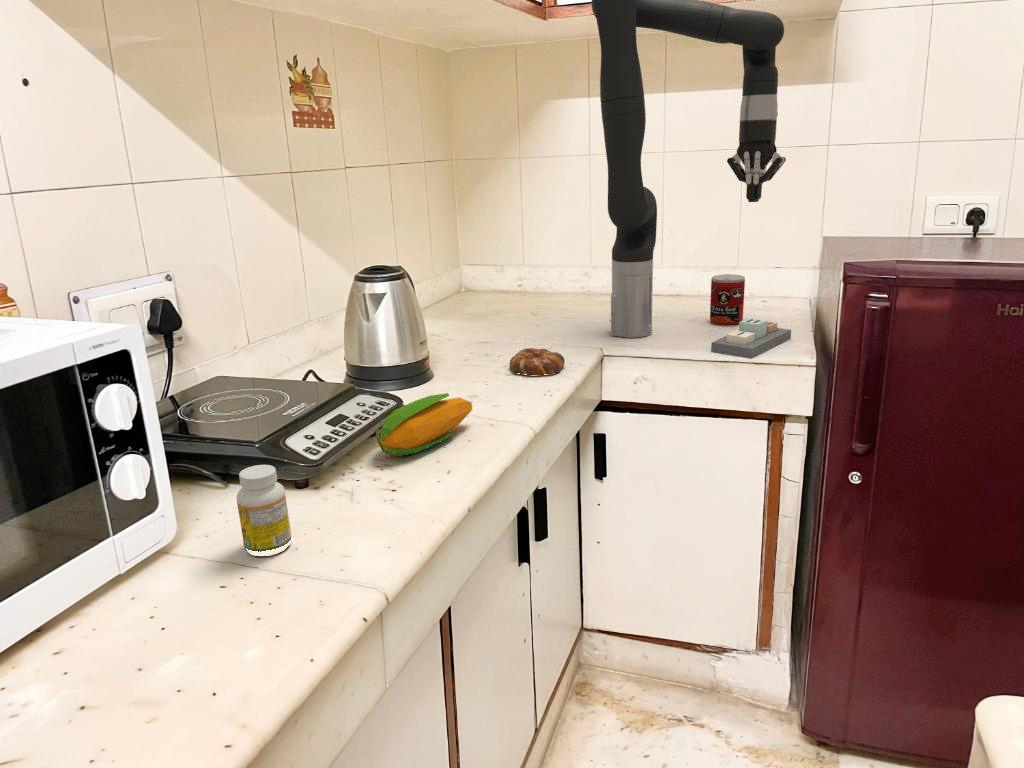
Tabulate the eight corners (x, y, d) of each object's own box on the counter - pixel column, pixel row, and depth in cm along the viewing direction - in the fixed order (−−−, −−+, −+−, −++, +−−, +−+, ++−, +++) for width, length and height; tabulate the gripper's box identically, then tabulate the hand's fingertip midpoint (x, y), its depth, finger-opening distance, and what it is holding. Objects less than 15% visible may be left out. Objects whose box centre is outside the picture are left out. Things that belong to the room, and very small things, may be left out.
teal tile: (738, 337, 164) (739, 321, 163) (747, 333, 167) (748, 317, 166) (757, 340, 161) (758, 324, 160) (765, 336, 164) (766, 320, 163)
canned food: (706, 324, 183) (707, 279, 180) (714, 317, 190) (716, 273, 187) (738, 327, 180) (741, 280, 177) (745, 319, 187) (748, 274, 183)
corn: (360, 410, 111) (451, 374, 126) (363, 458, 114) (451, 417, 129) (397, 423, 107) (486, 384, 122) (399, 472, 110) (486, 428, 125)
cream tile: (725, 350, 161) (726, 334, 160) (735, 346, 164) (736, 330, 163) (744, 353, 158) (745, 336, 157) (753, 349, 161) (754, 332, 160)
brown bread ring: (497, 368, 156) (496, 351, 155) (540, 358, 162) (540, 341, 161) (530, 382, 147) (529, 363, 145) (575, 371, 152) (575, 353, 151)
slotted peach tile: (749, 339, 168) (750, 323, 167) (758, 335, 171) (759, 319, 170) (768, 342, 166) (769, 326, 165) (776, 338, 169) (777, 322, 167)
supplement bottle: (290, 555, 87) (279, 478, 85) (241, 561, 87) (229, 484, 84) (294, 532, 93) (283, 459, 90) (248, 538, 92) (236, 464, 89)
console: (711, 351, 161) (711, 342, 160) (752, 333, 174) (752, 324, 174) (751, 358, 155) (752, 348, 155) (790, 338, 168) (791, 329, 168)
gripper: (721, 120, 164) (717, 202, 170) (780, 117, 156) (775, 204, 161) (737, 119, 170) (733, 199, 175) (796, 116, 161) (790, 201, 166)
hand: (753, 201), depth 168 cm, fingers closed
